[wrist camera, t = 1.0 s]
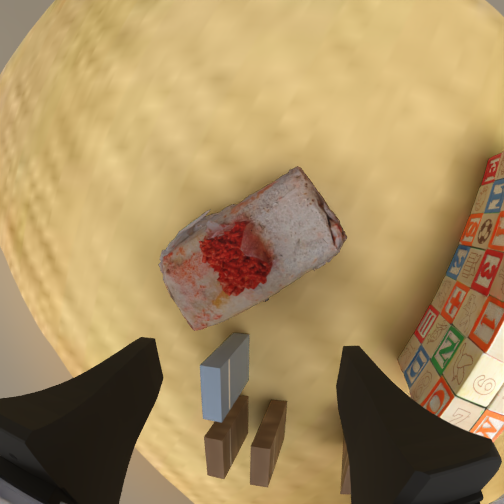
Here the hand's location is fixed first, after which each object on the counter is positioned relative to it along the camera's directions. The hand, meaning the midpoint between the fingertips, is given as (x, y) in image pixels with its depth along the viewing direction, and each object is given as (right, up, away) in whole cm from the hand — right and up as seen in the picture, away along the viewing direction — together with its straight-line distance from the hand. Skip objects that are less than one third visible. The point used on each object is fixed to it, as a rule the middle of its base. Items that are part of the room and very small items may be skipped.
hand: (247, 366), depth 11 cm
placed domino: (-1, -6, +18) cm, 19 cm away
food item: (+1, +5, +17) cm, 18 cm away
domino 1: (-1, -13, +19) cm, 23 cm away
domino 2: (+3, -13, +18) cm, 23 cm away
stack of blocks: (+21, +2, +12) cm, 24 cm away
